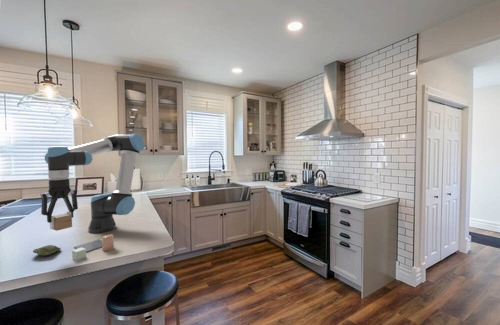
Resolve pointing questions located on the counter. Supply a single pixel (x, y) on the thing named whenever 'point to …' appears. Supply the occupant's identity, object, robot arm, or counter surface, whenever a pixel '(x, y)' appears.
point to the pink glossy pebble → (107, 242)
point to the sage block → (79, 253)
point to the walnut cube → (62, 221)
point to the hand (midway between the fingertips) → (61, 226)
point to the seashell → (46, 250)
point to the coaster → (91, 245)
